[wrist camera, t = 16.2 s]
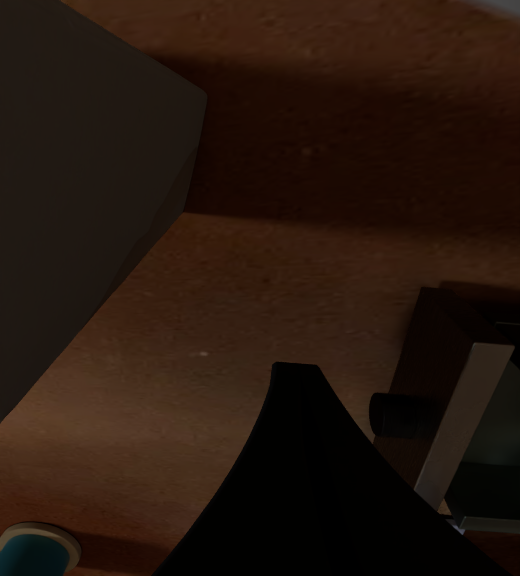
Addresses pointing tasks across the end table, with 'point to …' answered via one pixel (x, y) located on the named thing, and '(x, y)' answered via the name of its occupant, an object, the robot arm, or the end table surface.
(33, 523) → the coaster
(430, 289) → the drawer
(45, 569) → the bottle
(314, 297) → the end table surface
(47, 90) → the box
